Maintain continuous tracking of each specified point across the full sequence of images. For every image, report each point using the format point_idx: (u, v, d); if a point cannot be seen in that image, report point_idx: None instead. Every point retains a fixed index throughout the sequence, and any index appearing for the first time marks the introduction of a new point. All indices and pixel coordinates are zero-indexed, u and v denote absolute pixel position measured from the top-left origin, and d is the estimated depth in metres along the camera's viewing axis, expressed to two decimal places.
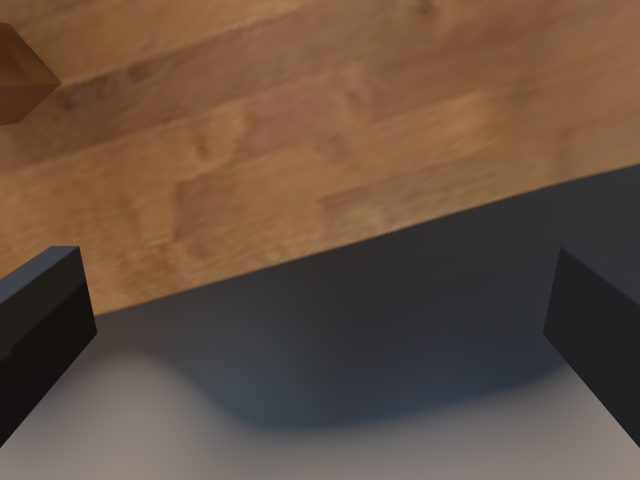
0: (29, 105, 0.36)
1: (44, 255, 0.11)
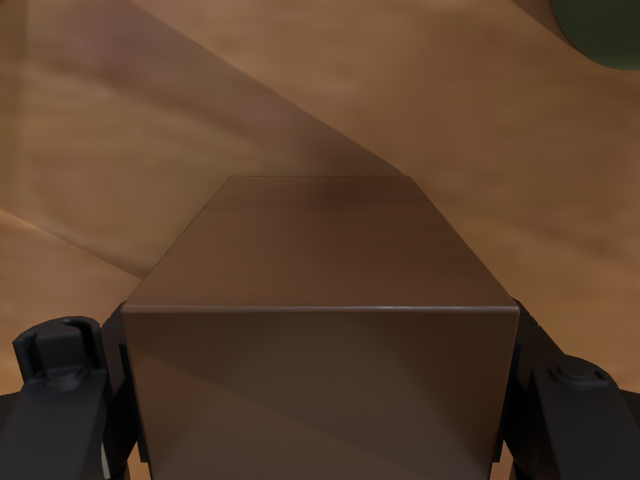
0: None
1: None
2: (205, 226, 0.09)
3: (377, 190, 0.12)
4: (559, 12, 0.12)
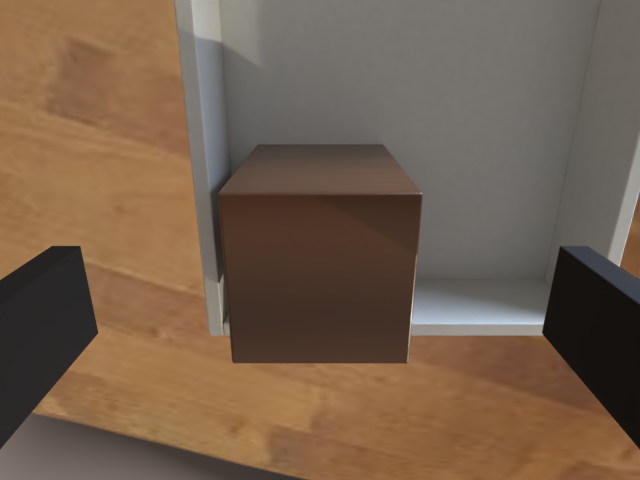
0: None
1: (45, 255, 0.11)
2: (250, 166, 0.15)
3: (358, 151, 0.18)
4: None
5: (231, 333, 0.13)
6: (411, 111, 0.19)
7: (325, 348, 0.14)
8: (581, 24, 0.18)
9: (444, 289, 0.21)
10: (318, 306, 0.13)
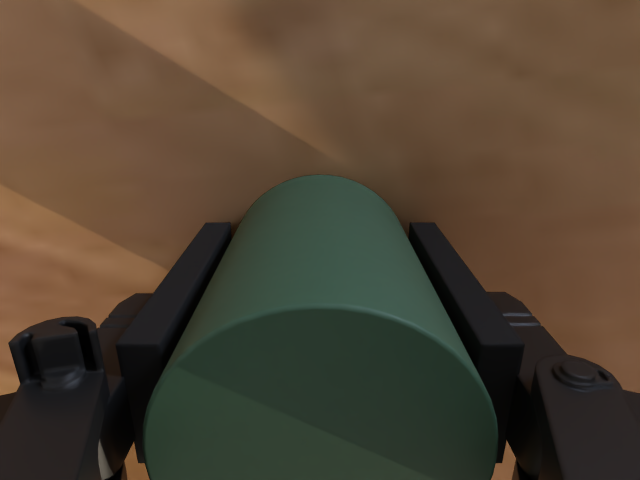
0: None
1: (207, 229, 0.13)
2: None
3: None
4: None
5: None
6: None
7: None
8: None
9: None
10: None
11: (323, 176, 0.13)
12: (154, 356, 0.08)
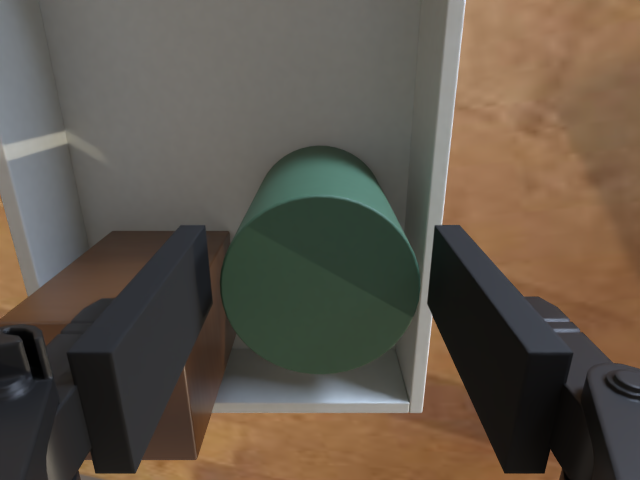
0: None
1: (180, 232, 0.13)
2: (66, 274, 0.16)
3: None
4: None
5: None
6: (251, 202, 0.20)
7: None
8: (398, 127, 0.19)
9: None
10: None
11: (322, 146, 0.19)
12: (107, 365, 0.08)
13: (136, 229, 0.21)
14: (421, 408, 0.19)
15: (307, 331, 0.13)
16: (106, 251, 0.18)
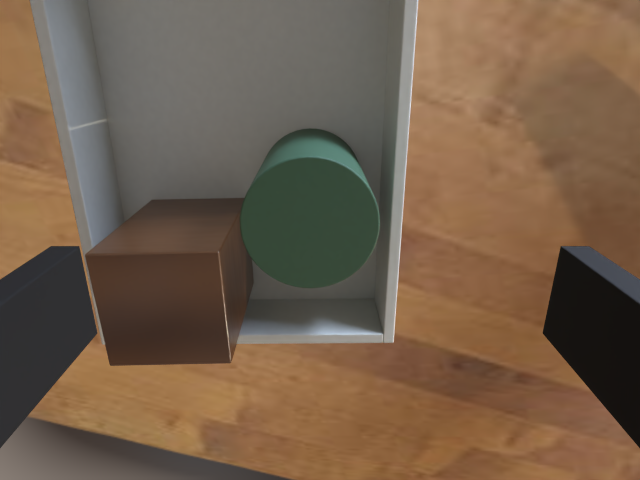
0: None
1: (44, 255, 0.11)
2: (125, 226, 0.21)
3: (219, 206, 0.24)
4: None
5: (106, 345, 0.20)
6: None
7: (171, 354, 0.20)
8: (373, 114, 0.24)
9: (292, 307, 0.27)
10: (162, 326, 0.19)
11: (312, 129, 0.24)
12: None
13: (162, 198, 0.25)
14: (392, 338, 0.24)
15: (301, 255, 0.18)
16: (151, 212, 0.23)
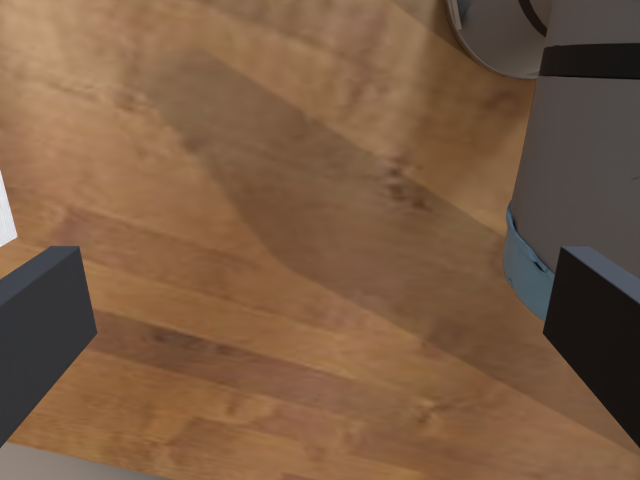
0: None
1: (44, 255, 0.11)
2: None
3: None
4: None
5: None
6: None
7: None
8: None
9: None
10: None
11: None
12: None
13: None
14: None
15: None
16: None
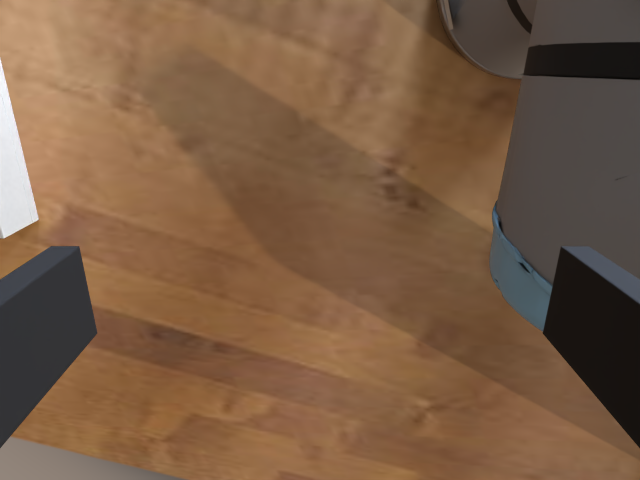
0: None
1: (44, 255, 0.11)
2: None
3: None
4: None
5: None
6: None
7: None
8: None
9: None
10: None
11: None
12: None
13: None
14: (2, 235, 0.37)
15: None
16: None
